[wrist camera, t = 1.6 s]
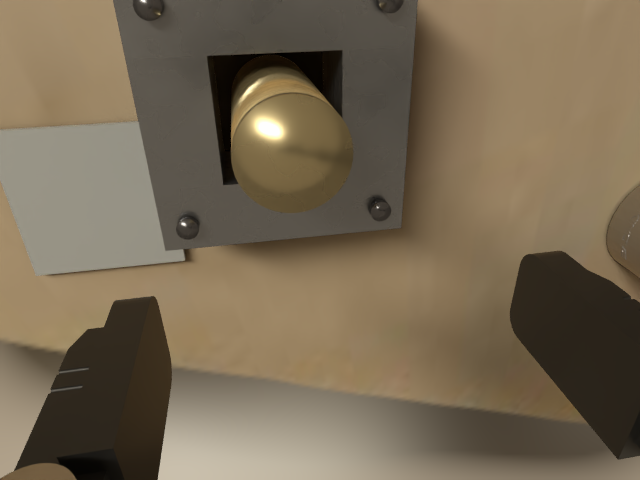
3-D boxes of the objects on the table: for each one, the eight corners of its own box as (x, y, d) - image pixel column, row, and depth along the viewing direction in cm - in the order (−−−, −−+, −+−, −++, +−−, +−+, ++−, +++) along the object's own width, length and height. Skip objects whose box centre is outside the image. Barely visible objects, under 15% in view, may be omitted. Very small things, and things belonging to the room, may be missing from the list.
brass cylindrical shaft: (309, 53, 28) (354, 91, 18) (311, 133, 31) (352, 207, 20) (226, 56, 28) (223, 98, 17) (235, 138, 30) (238, 218, 20)
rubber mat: (159, 119, 29) (158, 121, 28) (185, 257, 34) (185, 260, 33) (-15, 130, 27) (-18, 132, 27) (38, 272, 32) (36, 275, 32)
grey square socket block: (383, -34, 27) (425, -39, 21) (374, 190, 34) (404, 232, 28) (132, -29, 25) (102, -34, 19) (176, 207, 32) (164, 256, 26)
